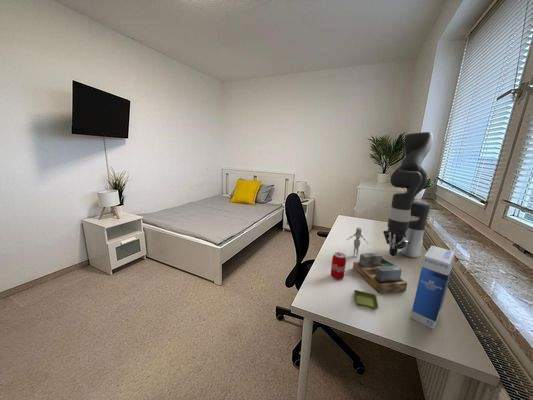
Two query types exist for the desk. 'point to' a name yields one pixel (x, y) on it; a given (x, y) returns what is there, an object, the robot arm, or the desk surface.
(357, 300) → the saucer
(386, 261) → the digital multimeter
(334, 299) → the desk surface
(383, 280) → the rectangular block
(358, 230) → the human figurine
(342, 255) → the beverage can
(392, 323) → the desk surface
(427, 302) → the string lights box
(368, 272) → the rack
